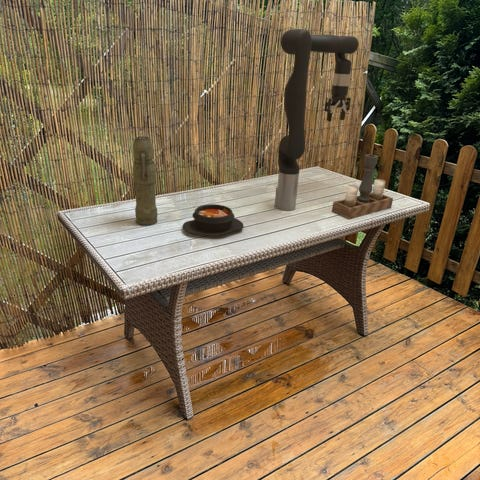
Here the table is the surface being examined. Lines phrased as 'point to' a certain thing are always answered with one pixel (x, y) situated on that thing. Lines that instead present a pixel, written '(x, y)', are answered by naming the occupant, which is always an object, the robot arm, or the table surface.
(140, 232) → the table surface
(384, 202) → the wooden candle tray
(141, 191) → the carved stone statue
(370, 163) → the candle holder
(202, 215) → the casserole
